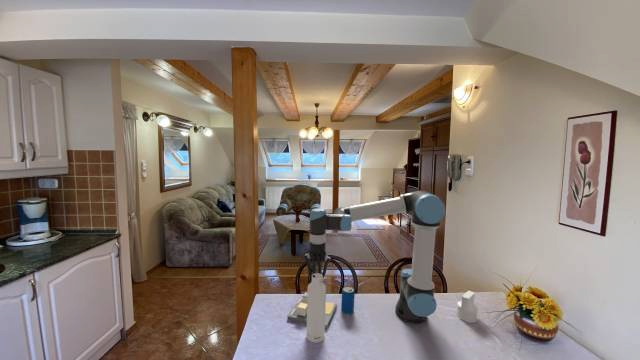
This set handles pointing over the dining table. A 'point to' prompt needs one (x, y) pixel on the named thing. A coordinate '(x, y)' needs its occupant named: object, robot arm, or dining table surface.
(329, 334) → the dining table surface
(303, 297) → the toggle
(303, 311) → the toggle
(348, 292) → the beverage can
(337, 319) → the dining table surface
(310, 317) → the bottle
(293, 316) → the breaker panel
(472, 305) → the cylinder with rectangular tab
